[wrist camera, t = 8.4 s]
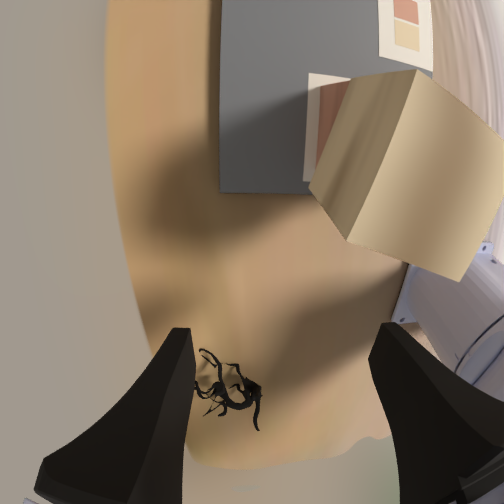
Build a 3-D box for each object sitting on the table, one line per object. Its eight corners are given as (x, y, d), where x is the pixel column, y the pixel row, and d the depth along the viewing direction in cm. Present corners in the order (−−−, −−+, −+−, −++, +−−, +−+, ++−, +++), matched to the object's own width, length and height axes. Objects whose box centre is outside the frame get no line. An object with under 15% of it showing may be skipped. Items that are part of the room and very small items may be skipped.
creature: (192, 387, 29) (266, 401, 27) (175, 428, 24) (257, 446, 23) (181, 335, 25) (271, 351, 24) (156, 381, 20) (260, 403, 19)
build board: (422, -13, 11) (428, -16, 10) (412, 198, 18) (418, 202, 18) (226, -49, 10) (225, -55, 10) (220, 189, 18) (219, 193, 17)
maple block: (441, 131, 11) (518, 156, 6) (400, 224, 13) (459, 282, 8) (351, 78, 10) (417, 69, 5) (308, 187, 12) (346, 241, 8)
